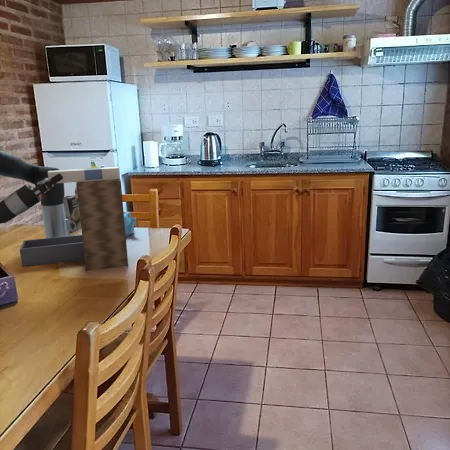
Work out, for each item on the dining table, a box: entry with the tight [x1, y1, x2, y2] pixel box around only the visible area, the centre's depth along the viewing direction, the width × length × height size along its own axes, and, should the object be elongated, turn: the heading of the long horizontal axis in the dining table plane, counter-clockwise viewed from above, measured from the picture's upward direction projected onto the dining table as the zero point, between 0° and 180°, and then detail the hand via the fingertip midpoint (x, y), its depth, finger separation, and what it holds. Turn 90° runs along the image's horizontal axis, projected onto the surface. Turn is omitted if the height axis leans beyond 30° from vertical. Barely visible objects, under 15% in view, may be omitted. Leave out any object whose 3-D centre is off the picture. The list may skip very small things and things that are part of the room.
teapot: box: [124, 211, 137, 237], centre depth 203 cm, size 15×15×11 cm
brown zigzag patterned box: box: [74, 178, 129, 272], centre depth 162 cm, size 16×12×32 cm
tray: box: [19, 234, 85, 268], centre depth 173 cm, size 31×12×7 cm, turn 107°
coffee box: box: [63, 195, 81, 233], centre depth 213 cm, size 9×6×16 cm
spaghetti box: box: [48, 166, 121, 184], centre depth 156 cm, size 24×4×4 cm, turn 107°
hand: (62, 173), depth 154 cm, fingers open, 8 cm apart
